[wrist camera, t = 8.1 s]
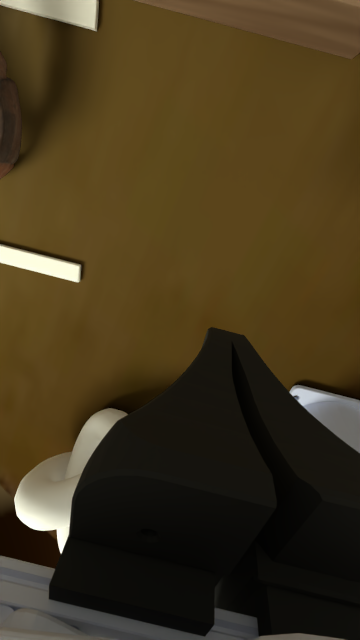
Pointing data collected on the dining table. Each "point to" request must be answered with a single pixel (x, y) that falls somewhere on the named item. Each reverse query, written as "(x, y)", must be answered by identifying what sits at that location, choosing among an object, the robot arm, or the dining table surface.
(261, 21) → the walnut screen
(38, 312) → the dining table surface
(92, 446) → the white knot
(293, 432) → the robot arm
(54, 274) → the bay outline
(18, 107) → the brown curved piece
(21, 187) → the dining table surface
